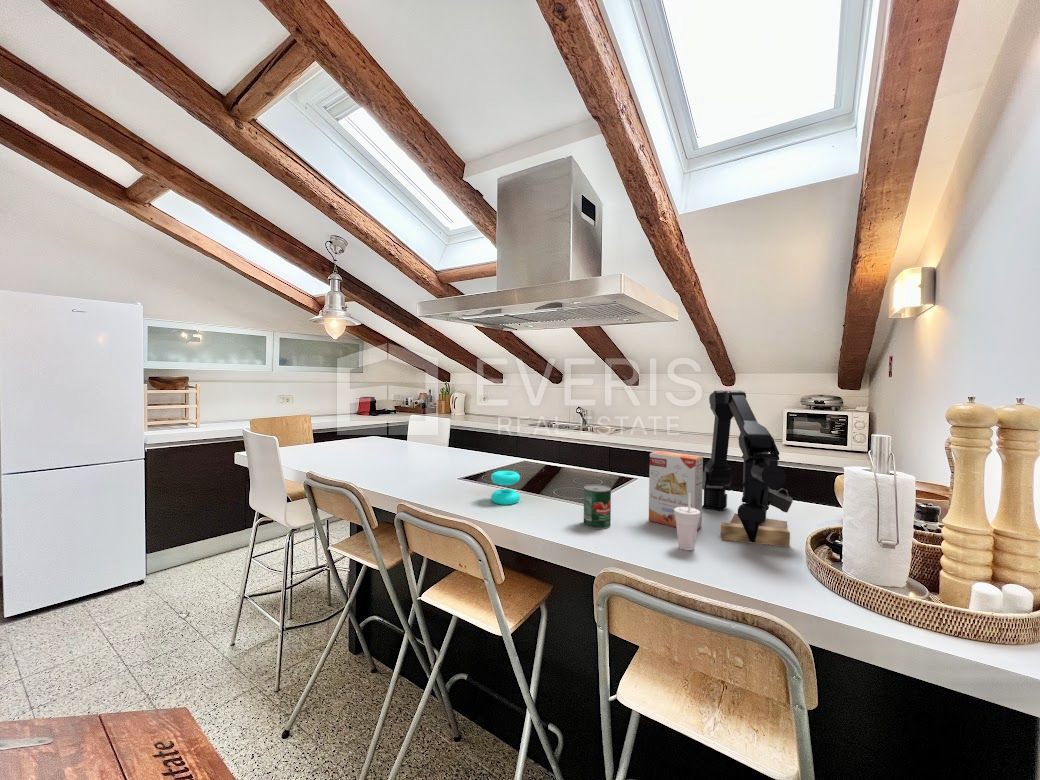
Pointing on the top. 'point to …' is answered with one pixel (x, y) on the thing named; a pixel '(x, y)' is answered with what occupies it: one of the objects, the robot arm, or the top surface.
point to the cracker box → (674, 485)
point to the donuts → (505, 495)
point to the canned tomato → (597, 506)
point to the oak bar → (763, 535)
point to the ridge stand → (767, 523)
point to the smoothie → (687, 525)
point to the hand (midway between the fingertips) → (753, 537)
